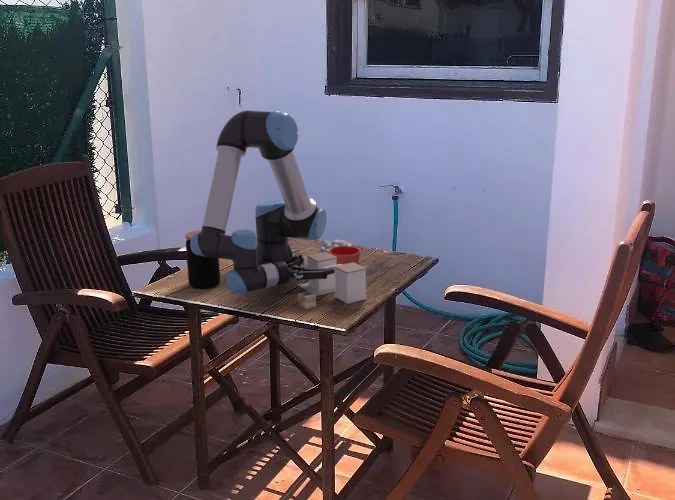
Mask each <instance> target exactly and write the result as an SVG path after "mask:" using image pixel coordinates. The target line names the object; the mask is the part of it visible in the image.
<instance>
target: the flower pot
mask: <svg viewBox="0 0 675 500" xmlns="http://www.w3.org/2000/svg"><path fill="white" fill-rule="evenodd" d="M329 254H332V255H334V256H336V257H337V265H338V264H342V265H343V264H348V263H353V262H354V263H356V264H359V263H360V258H361V257H360V256H361V249H359V248H358V247H355V246H352V247H351V246H339V247H334V248H331V249H330V250H329Z"/></svg>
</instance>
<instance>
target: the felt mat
mask: <svg viewBox="0 0 675 500" xmlns="http://www.w3.org/2000/svg"><path fill="white" fill-rule="evenodd" d="M298 287H300V288H302V289H304V290H306V291H309V292H311V293H314V294H316V297H319V296H322V295H326V294H331V293H334V292H335V293H336V287H335V288H331V289H326V290H322V291H318V290H316V289H314V288H312V287H311V286H309V285H308V282H304V283H300V284H298Z"/></svg>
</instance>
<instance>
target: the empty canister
mask: <svg viewBox="0 0 675 500" xmlns="http://www.w3.org/2000/svg"><path fill="white" fill-rule="evenodd" d="M334 268H335V285H336V292H335V298H336V299H338V300H339V301H342V302H344V303H345V304H353V303H356V302H360V301H364V300H367V298H366V297H367V290H366V289H367V280H366V279H367V278H366V275H367V273H366V272H367V267H365V266H363V265H361V264H359V263H358V264H356V263H354V262H353V263H348V264H343V265H338V266H334Z"/></svg>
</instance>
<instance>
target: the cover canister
mask: <svg viewBox="0 0 675 500" xmlns="http://www.w3.org/2000/svg"><path fill="white" fill-rule="evenodd" d="M306 256H307V257H308V265H307V268H318V269H324V267H328V266H333V265H337V257H336V256H334V255H332V254H329V253H327V252H322V253H321V252H317V253H313V254H312V253H311V254H307V255H306ZM307 283H308V285H309V286H311V287H312V288H314V289H316V290H318V291H322V290H326V289H331V288H335V287H336V285H335V274H332V275H327V279H310V280H307Z"/></svg>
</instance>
